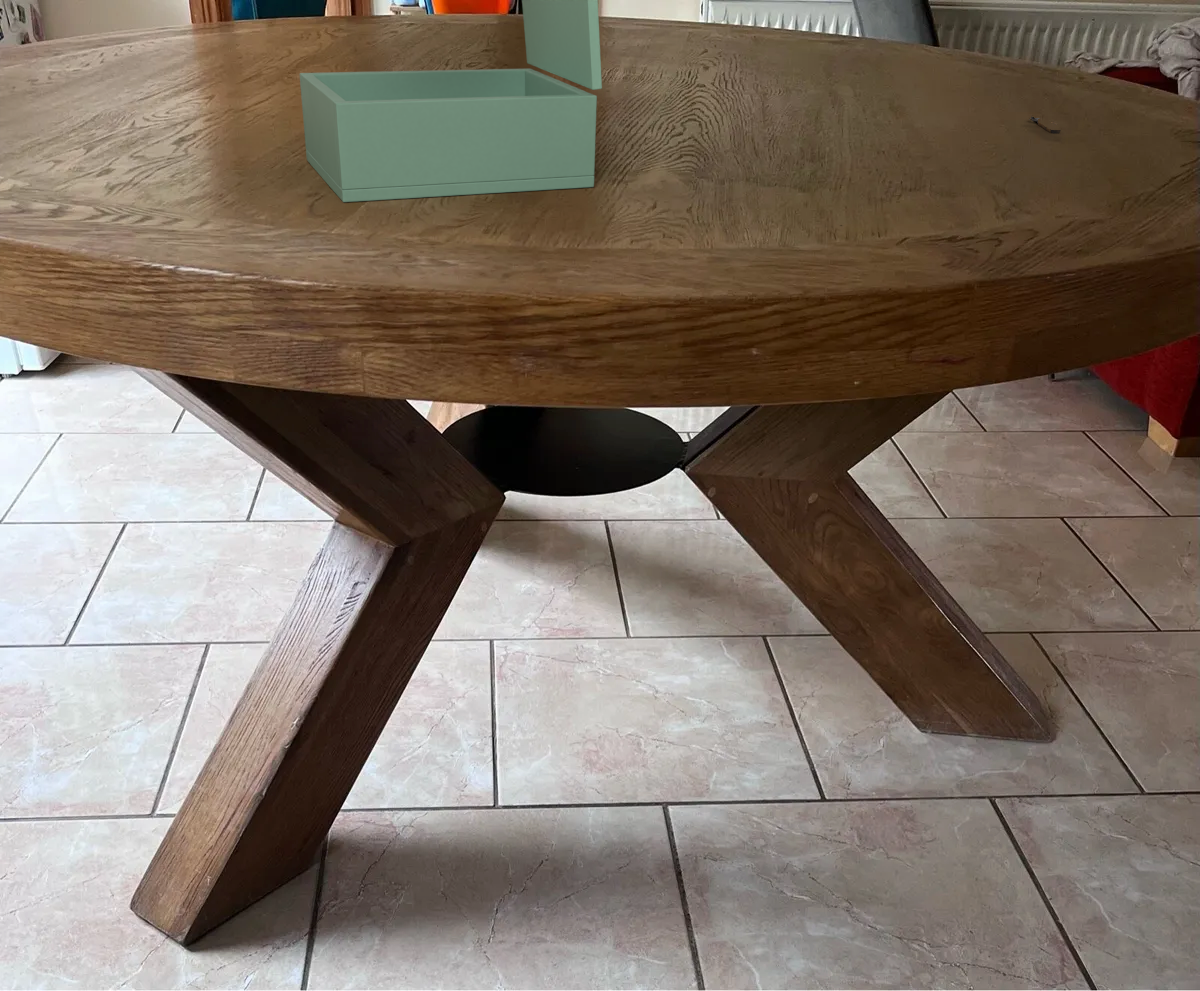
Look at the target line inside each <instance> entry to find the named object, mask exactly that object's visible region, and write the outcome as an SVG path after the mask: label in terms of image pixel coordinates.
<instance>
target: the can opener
mask: <svg viewBox="0 0 1200 991" xmlns="http://www.w3.org/2000/svg"><path fill="white" fill-rule="evenodd" d="M1029 118H1030V119H1032V120H1031V121H1032V122H1037V126H1039V127H1040V128H1042V129H1043V130H1045V131H1046V132H1048V133H1050V134H1055V135H1058V134H1060V132H1062V131H1061V130H1062V129H1061V130H1051V129H1048V128H1047V127H1045V126H1044V125H1043V124H1041V123H1039V122H1038V119H1040V117H1039V118H1034V117H1032V116H1031V117H1029ZM1030 119H1029V120H1030ZM1051 123H1053V124H1055V125H1057V124H1058V123H1056V122H1054V121H1052V122H1051Z"/></svg>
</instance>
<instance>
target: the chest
mask: <svg viewBox="0 0 1200 991" xmlns="http://www.w3.org/2000/svg"><path fill="white" fill-rule="evenodd" d="M299 84H300V98H301V107H302V108H301V110H302V120H303V132H304V142H305V154H306V161H307V163H309V164H310V166H311V167H312V168H313V169H314V170H315V172H316V173H317V174H318V175H319V176H320V177H321V178H322V180H323V181H324V182H325V183H326V184H327V185H328V186H329V188H330V189H331V191H332V192H334V193H335V195H336V196H337V197H338V198H339V199H340V200H341V202H342V203H357V202H372V201H375V202H376V201H388V200H389V201H390V200H391V201H392V200H406V199H420V198H421V199H422V198H423V199H424V198H438V197H439V198H440V197H455V196H471V195H472V196H473V195H487V194H505V193H521V192H522V193H523V192H535V191H536V192H537V191H553V190H570V189H586V188H587V189H588V188H594V187H595V163H596V134H597V133H596V132H597V131H596V130H597V104H598V99H597V98H598V96H597V95H595V94H593V93H591V92H588V91H585V90H583V89H581V88H579V87H576V86H574V85H571V84H569V83H566V82H565V81H562V80H559V79H557V78H554V77H552V76H550V75H547V74H545V73H542V72H540V71H537V70H536V69H533V68H489V69H488V68H487V69H483V68H482V69H440V70H439V69H436V70H434V69H433V70H432V69H431V70H390V71H389V70H386V71H385V70H384V71H335V72H329V71H328V72H300V73H299Z"/></svg>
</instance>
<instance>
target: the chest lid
mask: <svg viewBox="0 0 1200 991" xmlns="http://www.w3.org/2000/svg"><path fill="white" fill-rule="evenodd" d="M521 3H522V18H523V29H524V41H525V42H524V43H525V54H526V64H527V65H530V66H532V67H535V68H537V69H541V70H543V71H545V72H548V73H549V74H553V75H555V76H558V77H559V78H563V79H564V80H567V81H570V82H572V83H575V84H577V85H580V86H582V87H584V88H587V89H589V90H592V91H596V90H602V89H603V81H602V79H603V78H602V61H601V59H602V58H601V42H600V41H601V39H600V22H599V21H600V20H599V4H598V3H599V0H521Z"/></svg>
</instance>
